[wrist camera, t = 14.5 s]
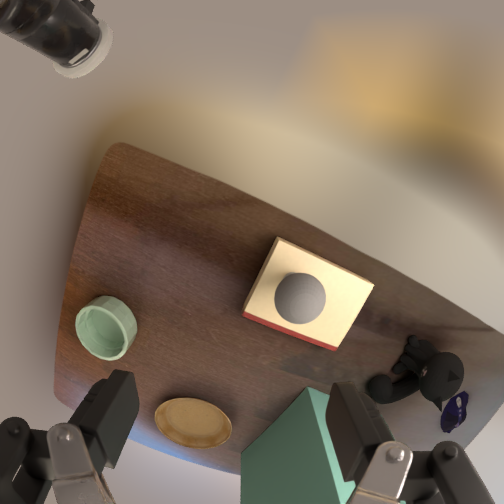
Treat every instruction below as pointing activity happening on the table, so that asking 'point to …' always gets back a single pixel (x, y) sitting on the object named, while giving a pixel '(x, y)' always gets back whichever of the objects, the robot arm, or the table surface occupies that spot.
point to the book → (336, 288)
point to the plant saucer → (193, 423)
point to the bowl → (106, 327)
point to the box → (295, 459)
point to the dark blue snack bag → (454, 412)
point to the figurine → (421, 375)
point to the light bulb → (299, 298)
